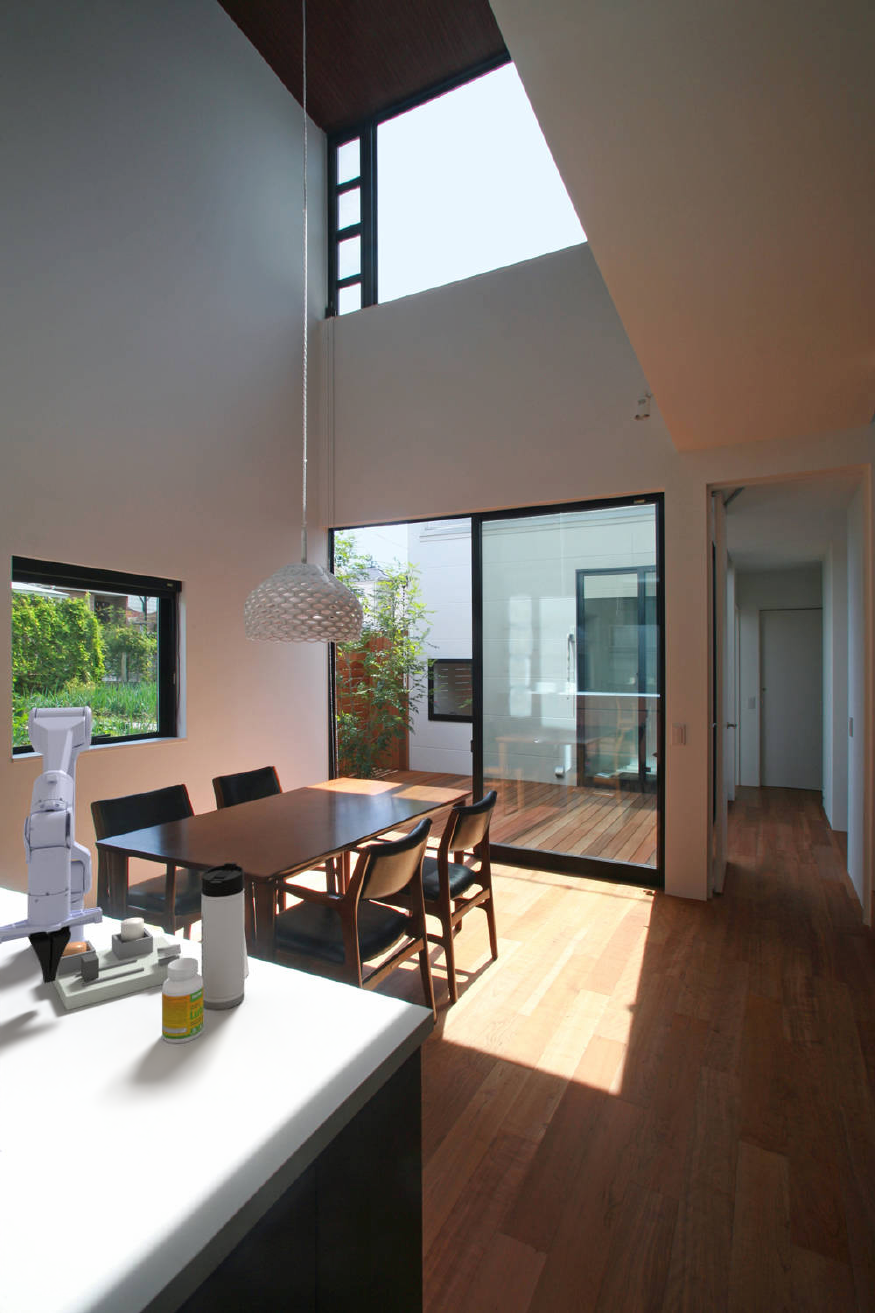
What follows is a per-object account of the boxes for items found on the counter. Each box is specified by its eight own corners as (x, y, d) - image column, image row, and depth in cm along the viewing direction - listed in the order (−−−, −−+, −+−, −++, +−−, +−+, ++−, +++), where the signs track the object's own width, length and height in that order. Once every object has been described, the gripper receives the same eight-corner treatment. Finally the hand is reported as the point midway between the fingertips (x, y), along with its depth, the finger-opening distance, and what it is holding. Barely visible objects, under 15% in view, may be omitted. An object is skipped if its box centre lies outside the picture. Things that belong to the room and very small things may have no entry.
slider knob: (81, 975, 108) (81, 956, 108) (94, 971, 109) (94, 953, 109) (84, 981, 105) (84, 962, 105) (98, 978, 107) (98, 958, 107)
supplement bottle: (194, 1044, 92) (194, 972, 92) (155, 1044, 92) (155, 972, 92) (209, 1024, 97) (209, 955, 97) (171, 1023, 97) (171, 955, 97)
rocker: (157, 957, 113) (157, 948, 114) (173, 953, 115) (173, 944, 115) (164, 957, 110) (163, 948, 111) (181, 953, 112) (180, 944, 112)
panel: (49, 975, 113) (49, 947, 113) (162, 947, 124) (162, 922, 124) (66, 1010, 101) (66, 979, 101) (189, 976, 112) (189, 948, 112)
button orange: (59, 963, 112) (59, 945, 112) (84, 957, 115) (84, 939, 115) (63, 971, 110) (63, 952, 110) (88, 964, 112) (88, 946, 112)
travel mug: (251, 990, 107) (251, 862, 107) (234, 1011, 100) (234, 875, 101) (213, 989, 108) (213, 862, 108) (194, 1009, 101) (194, 874, 101)
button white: (118, 938, 118) (118, 920, 118) (140, 933, 120) (140, 916, 120) (123, 944, 115) (123, 927, 115) (146, 939, 117) (146, 922, 117)
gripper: (-5, 907, 96) (-5, 1004, 96) (106, 887, 105) (106, 975, 105) (-10, 895, 102) (-10, 986, 102) (97, 876, 111) (96, 960, 111)
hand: (49, 980), depth 104 cm, fingers closed
